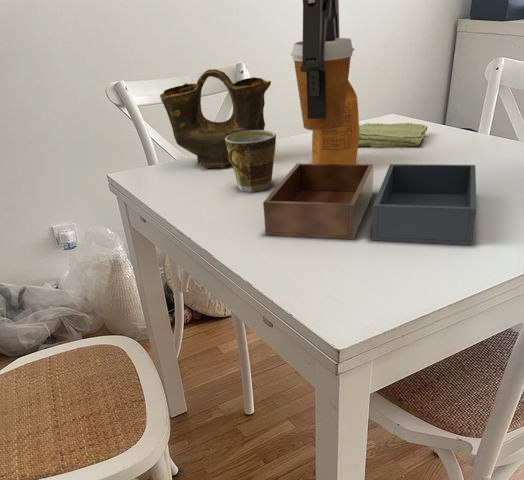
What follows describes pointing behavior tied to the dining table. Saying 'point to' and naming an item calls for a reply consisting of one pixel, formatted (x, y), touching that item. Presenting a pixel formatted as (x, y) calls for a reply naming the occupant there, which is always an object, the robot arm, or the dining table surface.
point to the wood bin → (320, 201)
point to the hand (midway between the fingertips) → (323, 111)
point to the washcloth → (391, 134)
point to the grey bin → (426, 204)
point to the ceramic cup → (252, 158)
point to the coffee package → (339, 136)
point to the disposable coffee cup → (336, 82)
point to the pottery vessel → (208, 132)
